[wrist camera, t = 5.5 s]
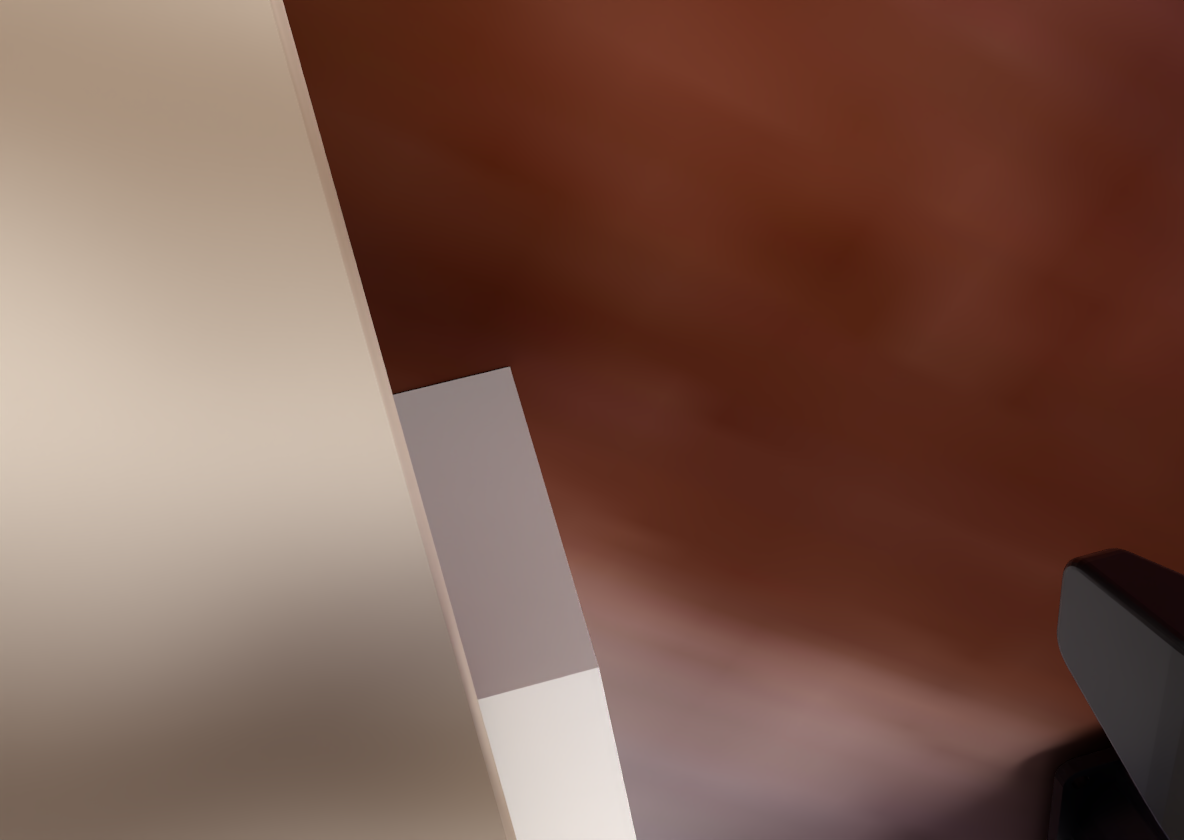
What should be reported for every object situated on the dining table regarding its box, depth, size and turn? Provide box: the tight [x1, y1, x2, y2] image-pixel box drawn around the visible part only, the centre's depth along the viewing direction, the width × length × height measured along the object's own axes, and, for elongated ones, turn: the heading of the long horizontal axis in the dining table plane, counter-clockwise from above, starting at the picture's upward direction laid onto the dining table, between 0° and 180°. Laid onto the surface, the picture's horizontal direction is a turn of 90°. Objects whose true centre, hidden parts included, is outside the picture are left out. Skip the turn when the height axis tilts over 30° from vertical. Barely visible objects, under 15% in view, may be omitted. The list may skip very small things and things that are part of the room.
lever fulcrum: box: [393, 367, 636, 840], centre depth 17 cm, size 5×10×8 cm, turn 99°
